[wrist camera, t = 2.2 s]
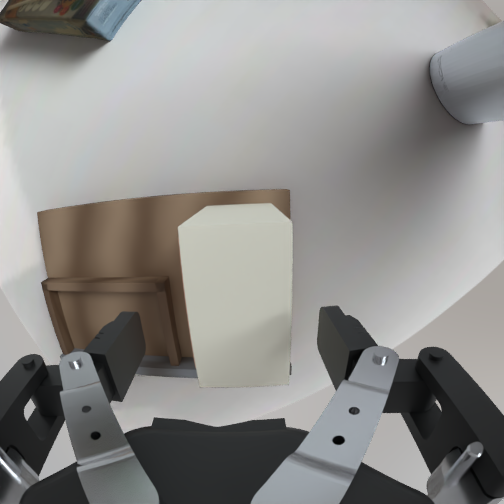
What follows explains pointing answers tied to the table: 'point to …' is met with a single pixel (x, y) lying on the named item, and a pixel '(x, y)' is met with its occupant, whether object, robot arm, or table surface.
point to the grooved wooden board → (128, 270)
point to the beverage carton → (68, 16)
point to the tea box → (238, 294)
